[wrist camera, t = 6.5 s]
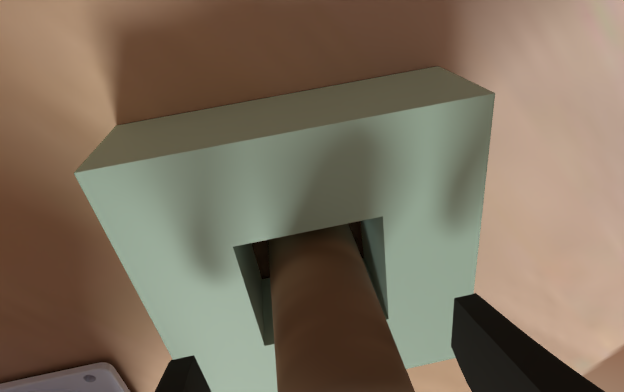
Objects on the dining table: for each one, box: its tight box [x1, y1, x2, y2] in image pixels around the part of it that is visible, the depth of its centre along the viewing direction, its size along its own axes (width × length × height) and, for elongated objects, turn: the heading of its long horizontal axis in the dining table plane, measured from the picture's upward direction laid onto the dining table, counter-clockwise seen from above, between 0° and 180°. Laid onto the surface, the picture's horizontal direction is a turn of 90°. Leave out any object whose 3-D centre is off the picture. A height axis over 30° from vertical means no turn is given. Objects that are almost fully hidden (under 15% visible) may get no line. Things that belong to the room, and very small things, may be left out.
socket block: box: [74, 66, 495, 392], centre depth 14 cm, size 11×11×4 cm
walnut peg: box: [268, 224, 415, 392], centre depth 12 cm, size 3×3×8 cm
